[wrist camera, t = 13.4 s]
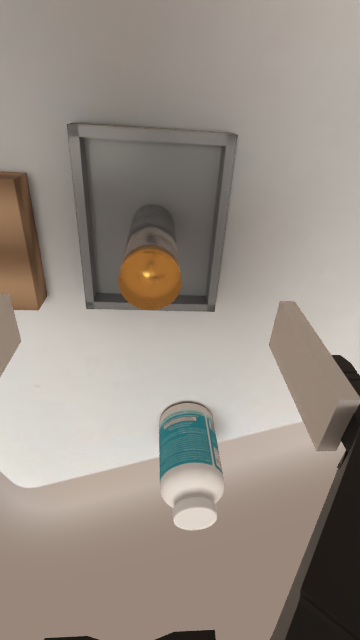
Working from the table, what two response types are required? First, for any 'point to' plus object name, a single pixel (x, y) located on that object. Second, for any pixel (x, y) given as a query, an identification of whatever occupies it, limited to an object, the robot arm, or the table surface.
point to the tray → (151, 188)
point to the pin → (150, 260)
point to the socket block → (19, 245)
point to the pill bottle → (190, 465)
